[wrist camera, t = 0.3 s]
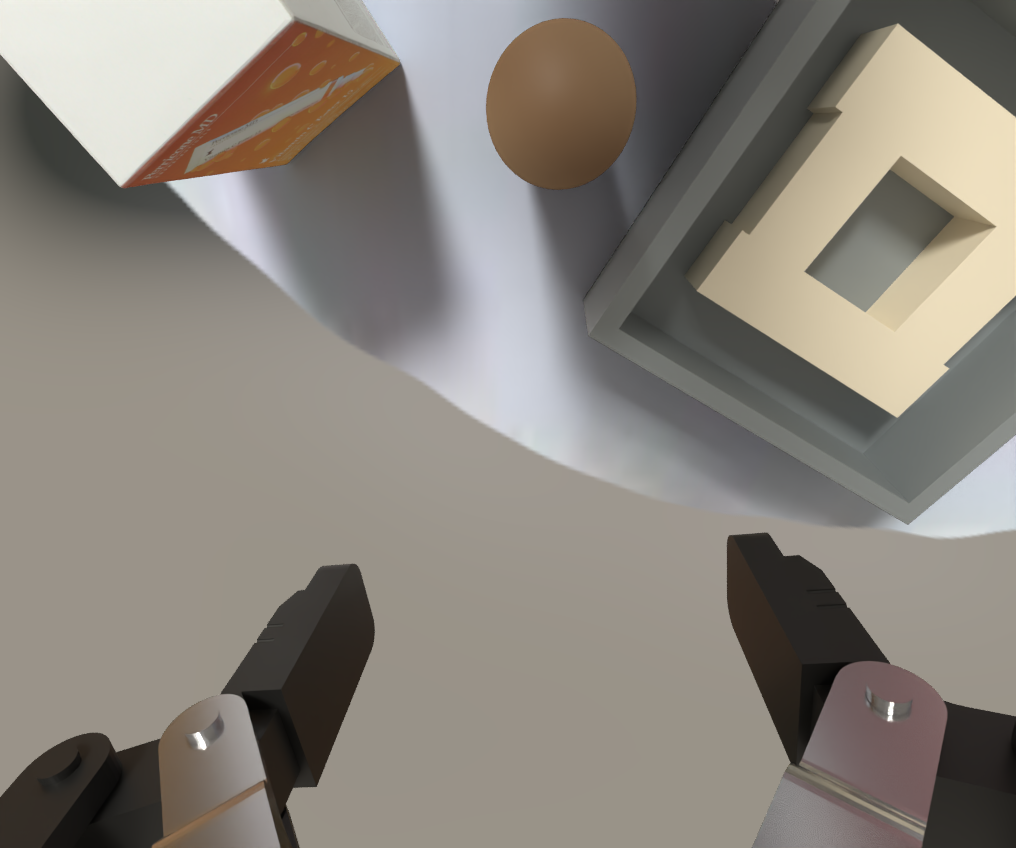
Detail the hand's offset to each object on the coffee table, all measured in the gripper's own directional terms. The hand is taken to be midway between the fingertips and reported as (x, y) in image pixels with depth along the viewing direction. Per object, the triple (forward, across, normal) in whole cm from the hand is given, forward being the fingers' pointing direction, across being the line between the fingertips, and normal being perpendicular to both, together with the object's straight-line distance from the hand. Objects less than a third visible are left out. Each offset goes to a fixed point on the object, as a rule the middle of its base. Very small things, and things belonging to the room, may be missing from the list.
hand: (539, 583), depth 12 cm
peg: (+21, -2, -12) cm, 24 cm away
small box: (+21, +10, -16) cm, 28 cm away
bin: (+22, -16, -4) cm, 27 cm away
